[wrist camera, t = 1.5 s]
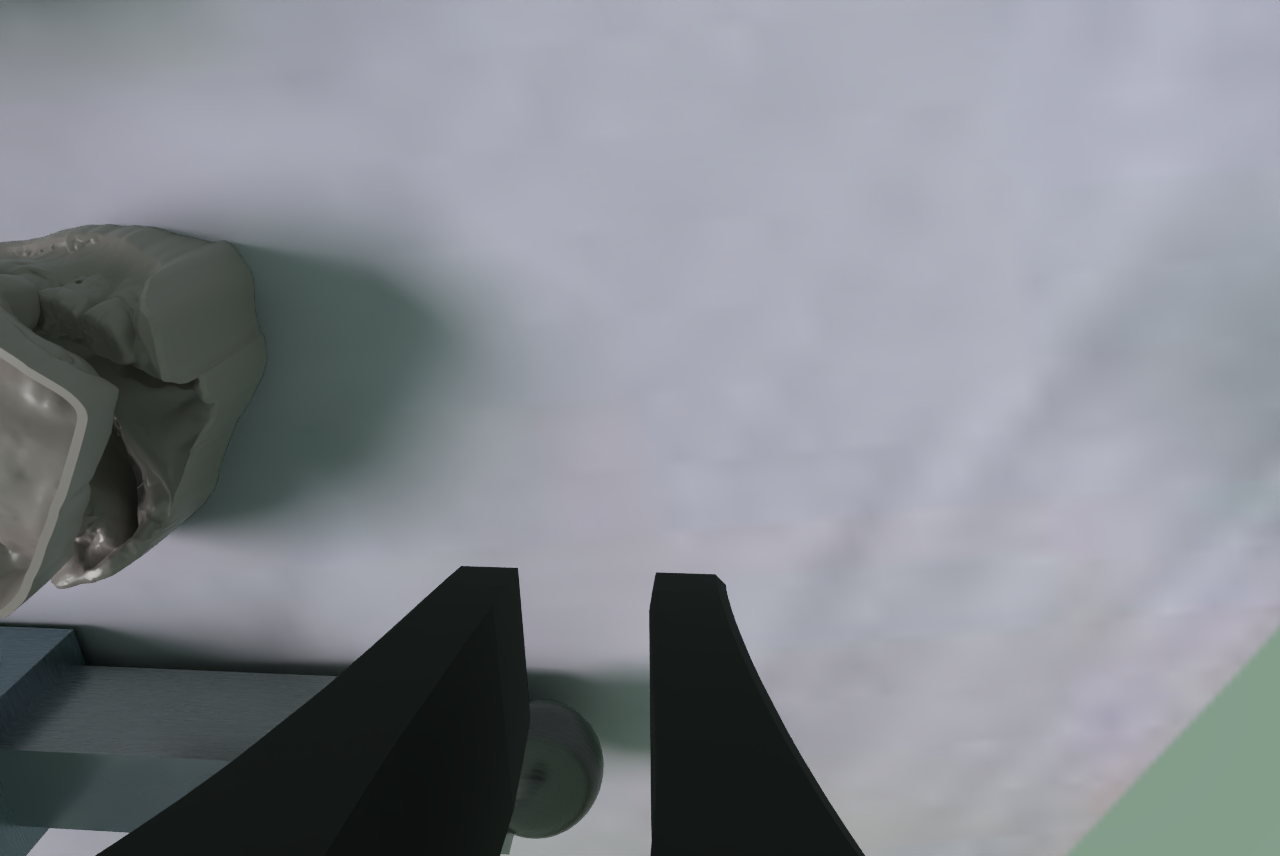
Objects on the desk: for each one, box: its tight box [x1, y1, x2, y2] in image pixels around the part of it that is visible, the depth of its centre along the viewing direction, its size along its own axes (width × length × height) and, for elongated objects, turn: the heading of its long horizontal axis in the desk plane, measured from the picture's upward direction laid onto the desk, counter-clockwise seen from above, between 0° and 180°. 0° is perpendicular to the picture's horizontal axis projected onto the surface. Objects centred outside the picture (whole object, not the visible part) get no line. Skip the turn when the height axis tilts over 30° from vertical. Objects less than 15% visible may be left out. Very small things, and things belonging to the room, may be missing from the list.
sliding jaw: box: [0, 626, 604, 856], centre depth 20 cm, size 4×24×6 cm, turn 91°
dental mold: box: [0, 224, 267, 619], centre depth 16 cm, size 8×7×5 cm
